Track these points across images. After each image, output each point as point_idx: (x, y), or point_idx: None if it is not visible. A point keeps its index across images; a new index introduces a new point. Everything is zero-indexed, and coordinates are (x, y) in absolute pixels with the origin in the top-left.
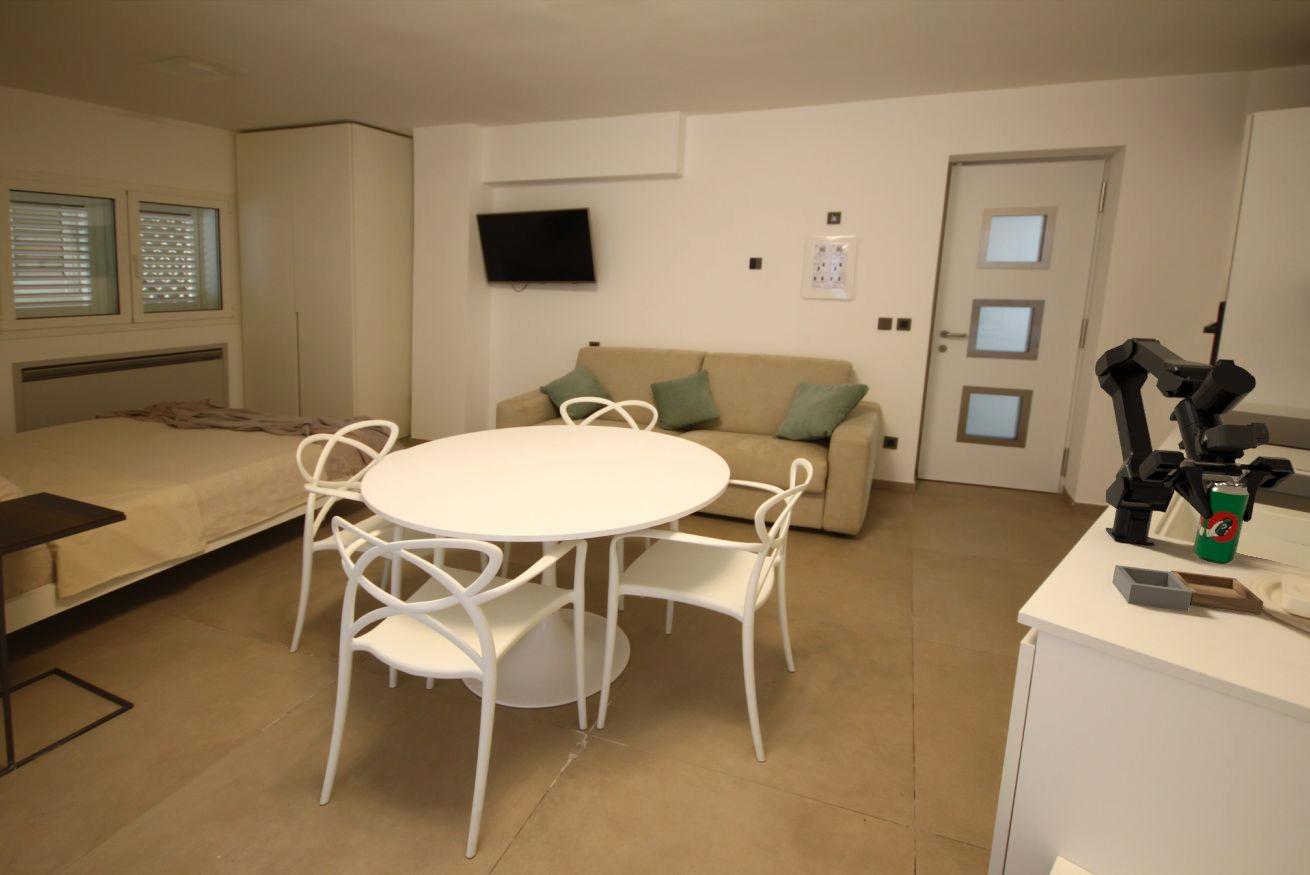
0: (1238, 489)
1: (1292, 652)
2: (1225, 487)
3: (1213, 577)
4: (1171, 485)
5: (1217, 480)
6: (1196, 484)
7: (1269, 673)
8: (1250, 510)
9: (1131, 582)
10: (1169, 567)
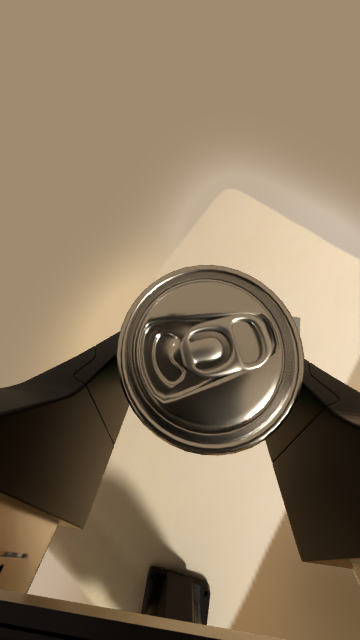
0: (202, 271)
1: (181, 248)
2: (261, 285)
3: None
4: None
5: (230, 442)
6: (355, 399)
7: (223, 214)
8: None
9: (298, 323)
10: (179, 453)
